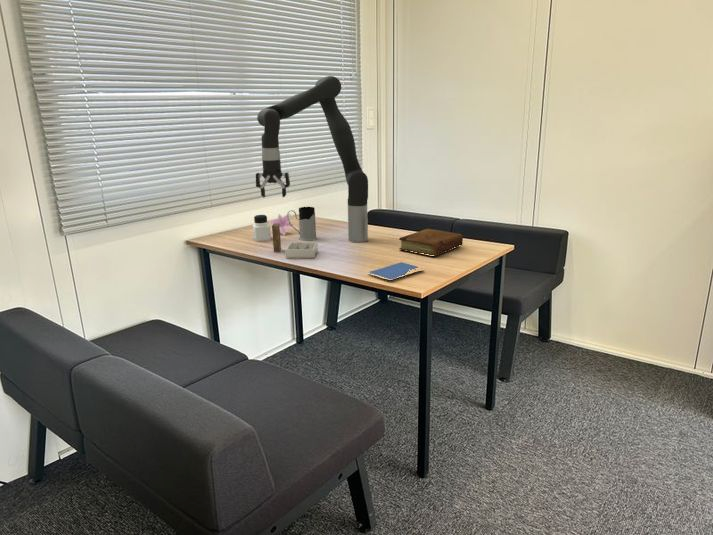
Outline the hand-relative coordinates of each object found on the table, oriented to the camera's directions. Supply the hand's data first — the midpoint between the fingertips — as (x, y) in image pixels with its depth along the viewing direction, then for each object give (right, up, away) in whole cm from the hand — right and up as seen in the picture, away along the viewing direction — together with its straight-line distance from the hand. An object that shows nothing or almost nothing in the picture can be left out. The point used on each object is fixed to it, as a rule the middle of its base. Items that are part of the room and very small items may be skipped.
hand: (273, 197), depth 218 cm
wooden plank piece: (0, -23, +7) cm, 24 cm away
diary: (+69, -22, +9) cm, 73 cm away
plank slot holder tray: (+12, -25, +1) cm, 28 cm away
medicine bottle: (-10, -17, +27) cm, 34 cm away
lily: (-2, -13, +40) cm, 43 cm away
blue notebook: (+51, -33, -24) cm, 65 cm away
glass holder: (+9, -16, +28) cm, 34 cm away
